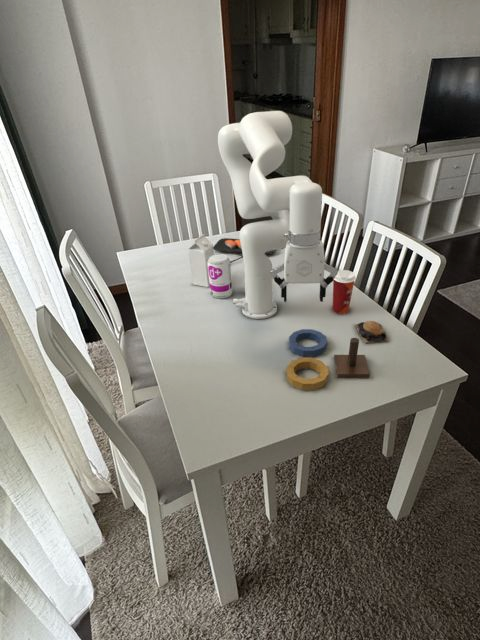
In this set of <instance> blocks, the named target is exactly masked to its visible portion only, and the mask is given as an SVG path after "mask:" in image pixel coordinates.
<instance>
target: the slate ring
mask: <svg viewBox="0 0 480 640" xmlns="http://www.w3.org/2000/svg"><path fill="white" fill-rule="evenodd" d="M303 340H312V341H314V342H316V343H318V344H316V345H313V346H304V345H301V344H299V343H298V342H300V341H303ZM288 341H289V342H288V348H289V350H290V351H291V352H292V353H293V354H294V355H297V356H299V357H301V358H315V357H318V356H321V355H323V354H324V353H325V351H327V349H328V339H327V336H326V335H325V334H323V332H321V331H320V330H319V331H318V330H316V329H311V328H304V329H303V328H302V329H299V330H296V331H293V332H292V333H291V334H290V336H288Z"/></svg>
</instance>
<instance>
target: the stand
mask: <svg viewBox="0 0 480 640" xmlns="http://www.w3.org/2000/svg"><path fill="white" fill-rule="evenodd" d="M359 345H360V339H359V338H357V337H351V338H350V341H349V349H348V354H334V355H333V361H334V367H335V372H336V378H338V379H370V376H371V372H370V370H369V366H368V362H367V358H366V355H365V354H359V353H358V352H359Z"/></svg>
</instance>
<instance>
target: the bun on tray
mask: <svg viewBox="0 0 480 640" xmlns="http://www.w3.org/2000/svg"><path fill="white" fill-rule="evenodd" d="M355 329H356V331H357V333H358V335H359V336H360V339H362V341H363V342H364V344H378V343H379V344H380V343H386V342H388V341H389V339H388V338H387V334H386V333H385V332H384V329H383V326H382V324H380V323H379V322H377V321H375V320H367V321H364V322H363V321H361V322H359V323H356V324H355Z"/></svg>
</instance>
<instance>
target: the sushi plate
mask: <svg viewBox="0 0 480 640" xmlns="http://www.w3.org/2000/svg"><path fill="white" fill-rule="evenodd" d="M213 249H214V251H219V252H226V253H231V254H234V255H236V256H239V257H238V258H236V259H233V260H230V264H232V263H234V262H236V261H238V260H240V259H243V253H242V248H241V243H240V238H231V237H230V238H227V237H225V238H224V237H223V238H220V239H219V240H217V242H216V243H215V244H214V245H213ZM275 251H276V250H272V251H268V252H265V255H272V254H274V253H275Z"/></svg>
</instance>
